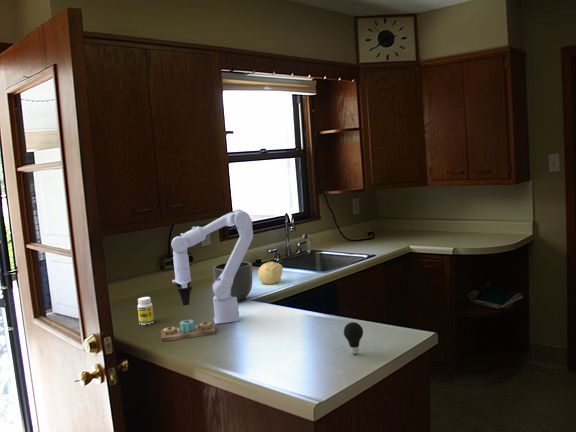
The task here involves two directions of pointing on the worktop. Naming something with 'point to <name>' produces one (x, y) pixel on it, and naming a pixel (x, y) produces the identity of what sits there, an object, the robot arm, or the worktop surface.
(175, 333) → the gear board
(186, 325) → the teal gear
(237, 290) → the planter
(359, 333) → the light bulb
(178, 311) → the worktop surface
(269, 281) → the pale yellow round lump
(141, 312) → the supplement bottle
